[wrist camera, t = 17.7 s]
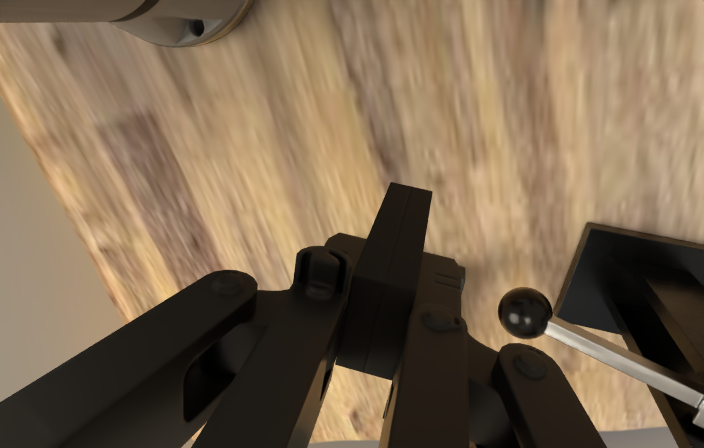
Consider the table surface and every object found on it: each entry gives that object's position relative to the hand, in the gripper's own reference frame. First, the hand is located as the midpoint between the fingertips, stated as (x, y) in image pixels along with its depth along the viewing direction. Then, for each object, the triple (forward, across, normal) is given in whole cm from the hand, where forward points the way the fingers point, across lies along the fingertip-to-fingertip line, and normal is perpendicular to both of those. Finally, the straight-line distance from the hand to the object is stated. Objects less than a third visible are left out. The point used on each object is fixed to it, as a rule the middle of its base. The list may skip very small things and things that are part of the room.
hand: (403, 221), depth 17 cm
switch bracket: (+22, +20, -10) cm, 32 cm away
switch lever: (+12, +15, -11) cm, 23 cm away
